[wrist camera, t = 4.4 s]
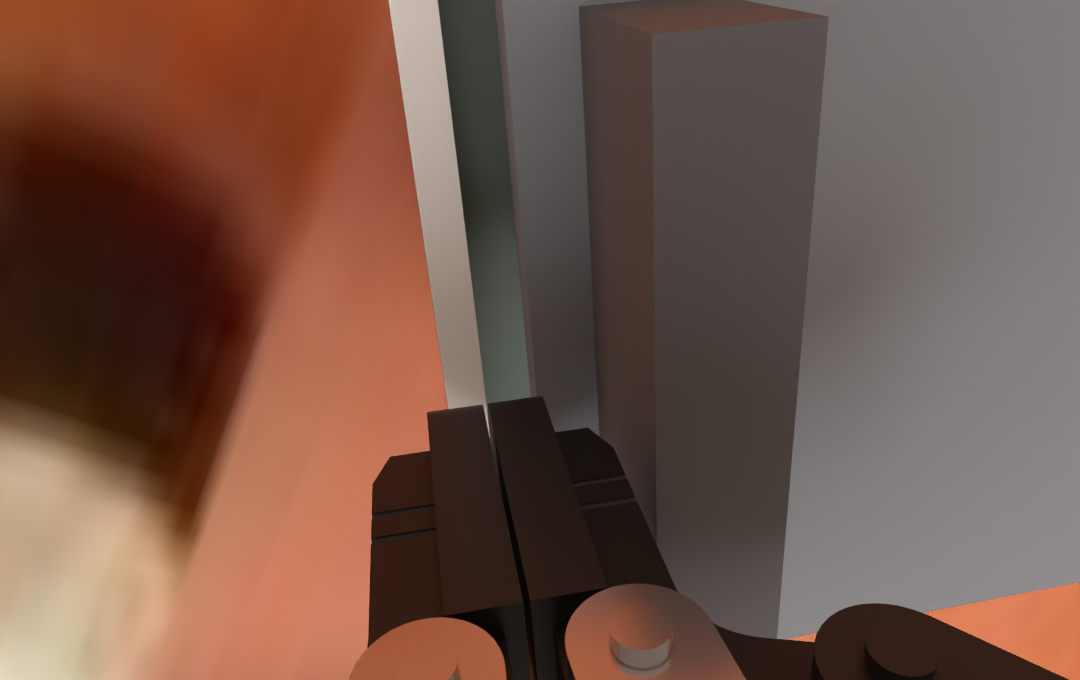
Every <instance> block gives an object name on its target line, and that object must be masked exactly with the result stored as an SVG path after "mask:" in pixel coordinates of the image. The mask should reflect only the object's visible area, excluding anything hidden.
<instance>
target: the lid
mask: <svg viewBox="0 0 1080 680" xmlns="http://www.w3.org/2000/svg"><path fill="white" fill-rule="evenodd" d="M494 1H495V12H496V22H497V33H498V44H499V55H500V66H501V77H502V88H503V99H504V110H505V121H506V132H507V143H508V154H509V165H510V175H511V186H512V197H513V208H514V219H515V230H516V241H517V252H518V263H519V274H520V285H521V296H522V307H523V318H524V329H525V339H526V350H527V361H528V372H529V383H530V394H531V397H537V396H542V397H543V398H544V401H545V404H546V407H547V410H548V413H549V416H550V419H551V422H552V425H553V428H554V431H555V432H561V431H568V430H574V429H581V428H589V429H590V430H592V431H593V432H594V433H596V434H597V435H598V436H599V437H601V438H602V439H603V440H604V441H606V442H607V443H608V444H610V445H611V446H612V447H613V448H614V450H615V452H616V454H617V456H618V459H619V461H620V463H621V465H622V468H623V470H624V472H625V476H626V479H628V481H629V483H630V486H631V488H632V490H633V492H634V495H635V500H636V502H637V501H638V504H639V506H640V508H641V511H642V513H643V515H644V517H645V520H646V522H647V524H648V526H649V529H650V531H651V533H652V535H653V538H654V540H655V542H656V544H657V547H658V549H659V551H660V553H661V556H662V558H663V560H664V562H665V565H666V567H667V569H668V571H669V574H670V576H671V578H672V580H673V583H674V585H675V587H676V589H677V590H678V592H679V593H681V594H683V595H685V596H687V597H688V598H690V599H691V600H692V601H694V602H695V603H697V604H698V605H699V606H700V607H701V608H702V609H703V610H704V611H705V612H706V614H707V615H708V616H709V618H710V619H711V621H712V622H713V623H714V624H716V625H718V626H720V627H722V628H725V629H728V630H730V631H733V632H736V633H740V634H744V635H748V636H755V637H762V638H773V639H787V638H792V637H798V636H803V635H808V634H813V633H817V632H818V631H819V629H820V627H821V625H822V624H823V623H824V622H825V621H826V620H827V619H828V618H829V617H830V616H831V615H833V614H834V613H836V612H838V611H840V610H842V609H845V608H847V607H850V606H855V605H859V604H869V603H880V604H891V605H897V606H902V607H906V608H909V609H913V610H916V611H919V612H921V613H923V612H928V611H933V610H938V609H943V608H949V607H954V606H959V605H964V604H970V603H975V602H980V601H985V600H990V599H996V598H1001V597H1006V596H1011V595H1016V594H1022V593H1027V592H1032V591H1037V590H1042V589H1048V588H1053V587H1058V586H1063V585H1069V584H1074V583H1079V582H1080V0H494Z"/></svg>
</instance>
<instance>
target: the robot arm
mask: <svg viewBox="0 0 1080 680" xmlns="http://www.w3.org/2000/svg"><path fill="white" fill-rule="evenodd" d="M487 414H488V424H489V432H488V427H487V422H486V417H485V412H484V407H483V404H482V405H474V406H467V407H460V408H453V409H446V410H439V411H432V412H427V418H428V430H429V442H430V451H426V452H419V453H413V454H406V455H399V456H392V457H390V458H389V460H388V461H387V463H386V464H385V466H384V467H383V469H382V470H381V472H380V474H379V475H378V477H377V478H376V480H375V481H374V483H373V492H372V518H373V519H372V529H371V539H372V544H371V566H370V602H369V639H368V647H367V650H366V651H365V652H364V653H363V654H362V655H361V657H360V658H359V660H358V661H357V663H356V664H355V667H354V669H353V671H352V673H351V675H350V679H349V680H1068V679H1066V678H1064V677H1062V676H1060V675H1057V674H1055V673H1053V672H1051V671H1049V670H1046V669H1044V668H1042V667H1040V666H1038V665H1036V664H1033V663H1031V662H1029V661H1027V660H1025V659H1022V658H1020V657H1018V656H1016V655H1014V654H1012V653H1009V652H1007V651H1005V650H1003V649H1001V648H998V647H996V646H994V645H992V644H990V643H988V642H985V641H983V640H981V639H979V638H977V637H974V636H972V635H970V634H968V633H966V632H964V631H961V630H959V629H957V628H955V627H953V626H950V625H948V624H946V623H944V622H942V621H940V620H937V619H935V618H933V617H931V616H929V615H926V614H924V613H921V612H919V611H916V610H913V609H909V608H906V607H902V606H897V605H891V604H880V603H869V604H859V605H855V606H850V607H847V608H845V609H842V610H840V611H838V612H836V613H834V614H833V615H831V616H830V617H829V618H828V619H827V620H826V621H825V622H824V623H823V624H822V625H821V627H820V629H819V631H818V632H817V635H816V639H815V642H805V641H794V640H783V639H773V638H762V637H755V636H748V635H744V634H740V633H736V632H733V631H730V630H728V629H725V628H722V627H720V626H718V625H716V624H714V623H713V622H712V621H711V619H710V618H709V616H708V615H707V614H706V612H705V611H704V610H703V609H702V608H701V607H700V606H699V605H698V604H697V603H695V602H694V601H692V600H691V599H690V598H688V597H687V596H685V595H683V594H681V593H679V592H678V590H677V589H676V587H675V585H674V583H673V580H672V578H671V576H670V574H669V571H668V569H667V567H666V565H665V562H664V560H663V558H662V556H661V553H660V551H659V549H658V547H657V544H656V542H655V540H654V538H653V535H652V533H651V531H650V529H649V526H648V524H647V522H646V520H645V517H644V515H643V513H642V511H641V508H640V506H639V504H638V501H637V502H636V500H635V495H634V492H633V490H632V488H631V486H630V483H629V481H628V479H626V476H625V472H624V470H623V468H622V465H621V463H620V461H619V459H618V456H617V454H616V452H615V450H614V448H613V447H612V446H611V445H610V444H608V443H607V442H606V441H604V440H603V439H602V438H601V437H599V436H598V435H597V434H596V433H594V432H593V431H592V430H590V429H589V428H581V429H574V430H568V431H561V432H555V431H554V428H553V425H552V422H551V419H550V416H549V413H548V410H547V407H546V404H545V401H544V398H543V397H542V396H537V397H530V398H523V399H516V400H508V401H501V402H494V403H487ZM489 433H490V437H489Z"/></svg>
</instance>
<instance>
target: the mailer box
mask: <svg viewBox="0 0 1080 680" xmlns="http://www.w3.org/2000/svg"><path fill="white" fill-rule="evenodd" d="M388 1H389V7H390V14H391V21H392V28H393V35H394V41H395V48H396V55H397V62H398V69H399V75H400V82H401V89H402V96H403V103H404V110H405V116H406V123H407V130H408V137H409V144H410V150H411V157H412V164H413V171H414V178H415V185H416V191H417V198H418V205H419V212H420V219H421V225H422V232H423V239H424V246H425V253H426V260H427V266H428V273H429V280H430V287H431V294H432V300H433V307H434V314H435V321H436V328H437V335H438V341H439V348H440V355H441V362H442V369H443V375H444V382H445V389H446V396H447V403H448V409H453V408H460V407H467V406H474V405H482V404H483V407H484V412H485V417H486V422H487V427H488V432H489V424H488V414H487V403H494V402H501V401H508V400H516V399H523V398H530V397H531V394H530V383H529V372H528V361H527V350H526V339H525V329H524V318H523V307H522V296H521V285H520V274H519V263H518V252H517V241H516V230H515V219H514V208H513V197H512V186H511V175H510V165H509V154H508V143H507V132H506V121H505V110H504V99H503V88H502V77H501V66H500V55H499V44H498V33H497V22H496V12H495V1H494V0H388ZM489 437H490V433H489Z"/></svg>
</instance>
